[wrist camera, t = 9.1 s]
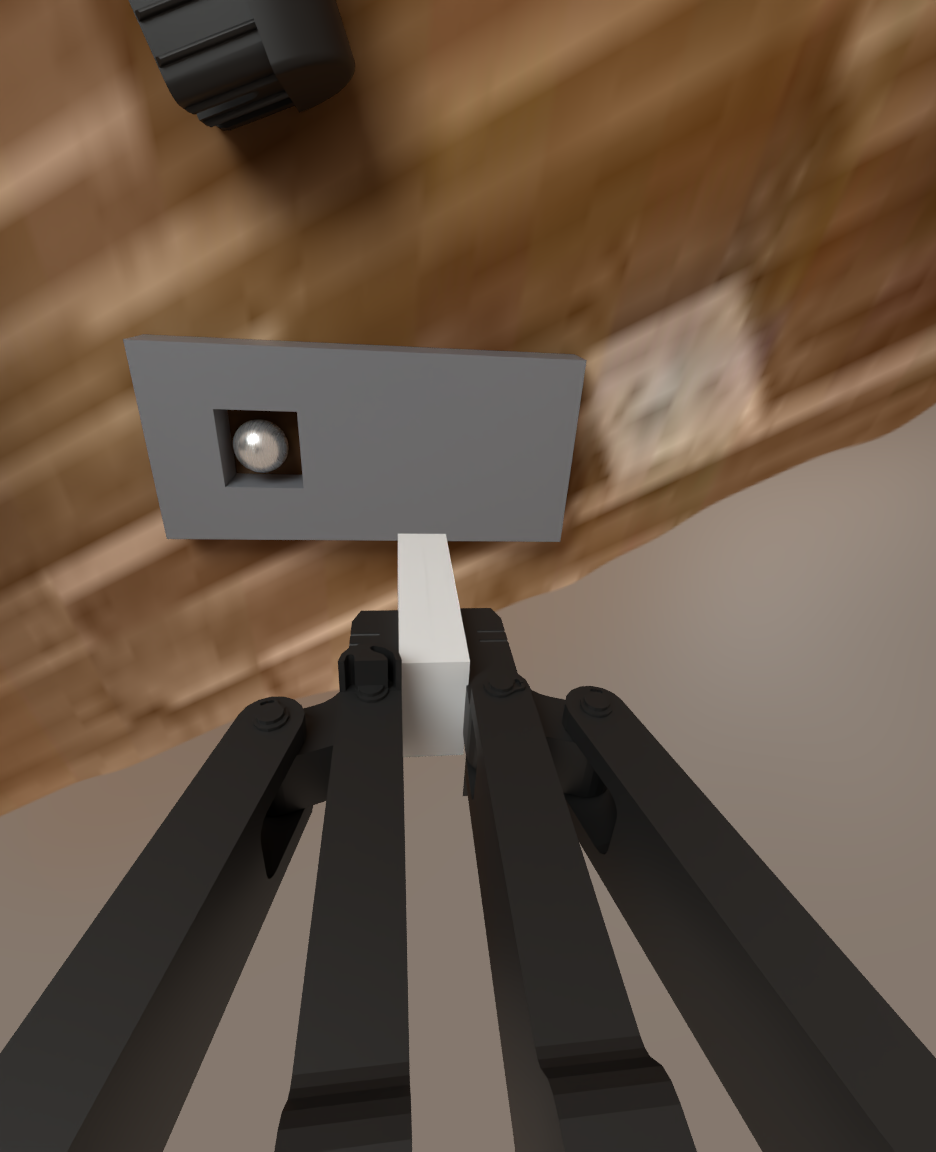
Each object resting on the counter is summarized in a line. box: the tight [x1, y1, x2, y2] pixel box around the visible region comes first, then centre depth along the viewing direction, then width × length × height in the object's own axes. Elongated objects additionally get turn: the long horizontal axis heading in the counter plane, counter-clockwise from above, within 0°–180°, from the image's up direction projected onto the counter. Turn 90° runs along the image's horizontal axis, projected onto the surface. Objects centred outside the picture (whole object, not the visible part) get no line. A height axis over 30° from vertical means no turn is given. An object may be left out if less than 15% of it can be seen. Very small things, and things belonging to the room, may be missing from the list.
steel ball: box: [233, 419, 288, 473], centre depth 32 cm, size 3×3×3 cm
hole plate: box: [123, 334, 586, 542], centre depth 33 cm, size 24×11×2 cm, turn 87°
